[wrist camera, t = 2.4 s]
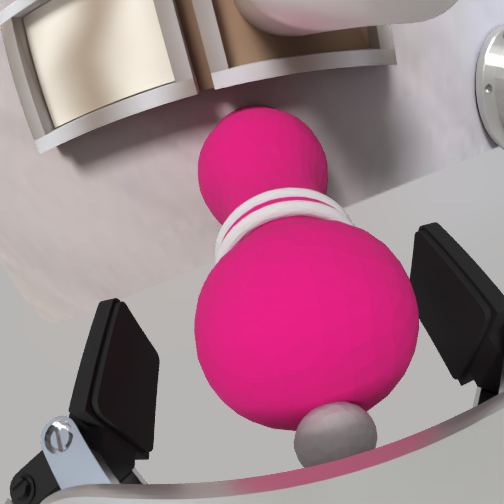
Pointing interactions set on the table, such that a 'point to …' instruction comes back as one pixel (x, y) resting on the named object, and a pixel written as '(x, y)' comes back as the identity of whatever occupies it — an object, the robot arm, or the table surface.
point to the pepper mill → (296, 292)
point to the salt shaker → (335, 14)
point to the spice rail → (153, 57)
